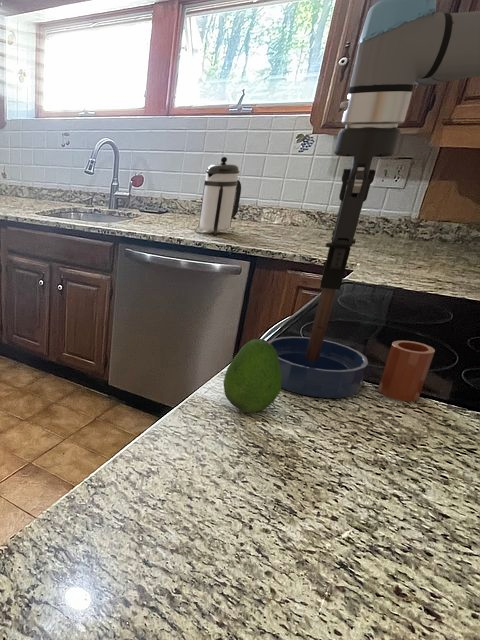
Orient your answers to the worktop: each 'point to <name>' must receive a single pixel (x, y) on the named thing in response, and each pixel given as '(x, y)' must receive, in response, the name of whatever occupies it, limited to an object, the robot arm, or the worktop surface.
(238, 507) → the worktop surface
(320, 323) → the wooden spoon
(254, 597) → the worktop surface
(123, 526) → the worktop surface
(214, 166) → the coffee press
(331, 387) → the bowl
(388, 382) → the crock
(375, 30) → the robot arm
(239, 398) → the avocado
